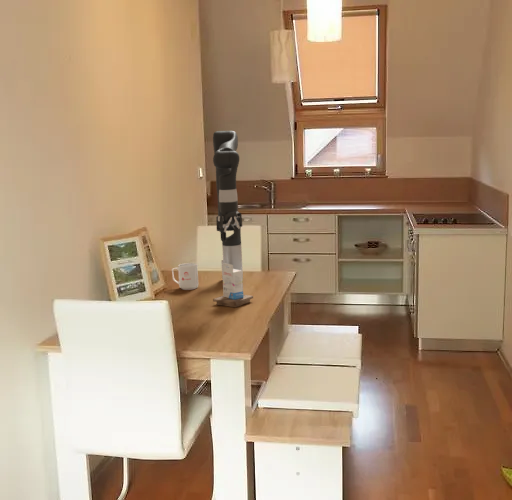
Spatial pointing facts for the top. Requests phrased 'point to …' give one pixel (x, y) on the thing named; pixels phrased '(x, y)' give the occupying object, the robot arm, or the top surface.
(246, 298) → the stand
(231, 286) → the ink box
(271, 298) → the top surface
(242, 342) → the top surface
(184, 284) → the mug
